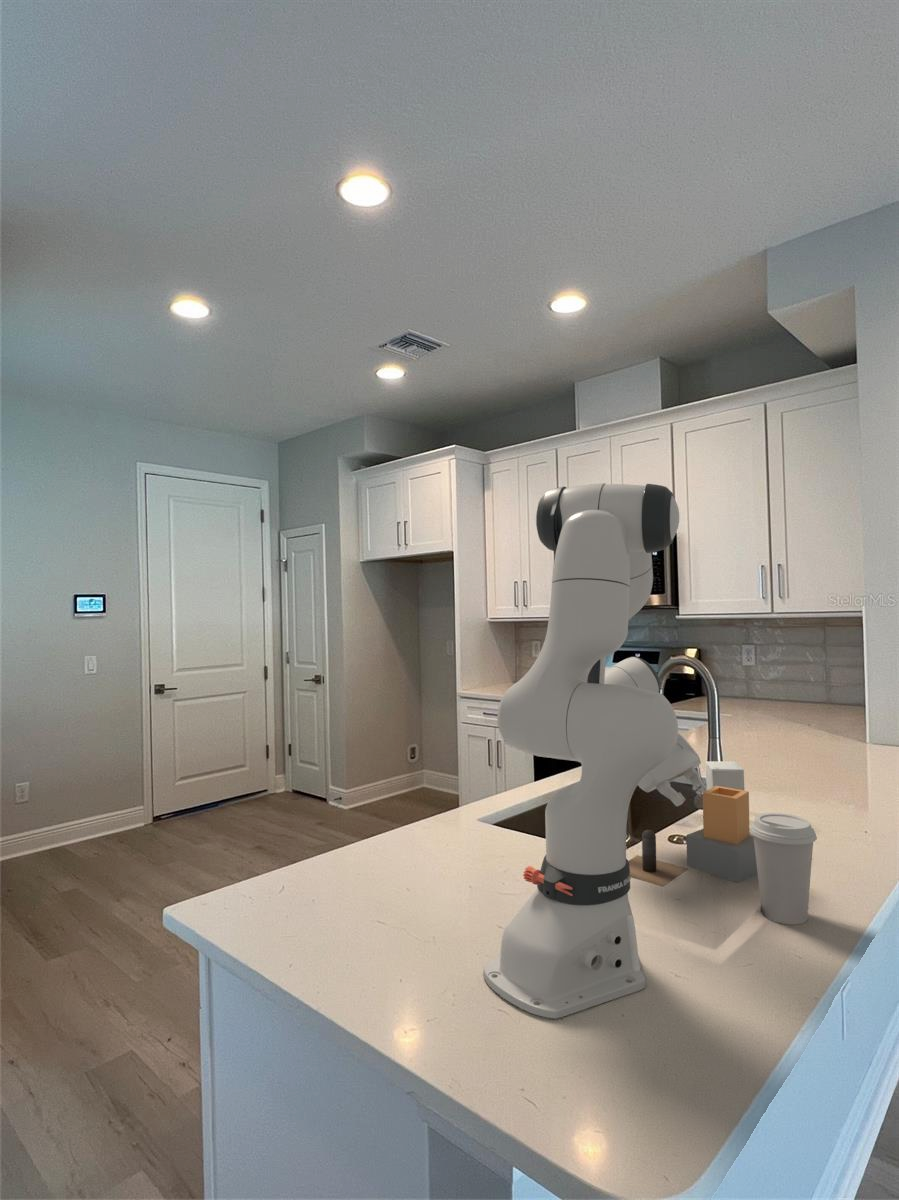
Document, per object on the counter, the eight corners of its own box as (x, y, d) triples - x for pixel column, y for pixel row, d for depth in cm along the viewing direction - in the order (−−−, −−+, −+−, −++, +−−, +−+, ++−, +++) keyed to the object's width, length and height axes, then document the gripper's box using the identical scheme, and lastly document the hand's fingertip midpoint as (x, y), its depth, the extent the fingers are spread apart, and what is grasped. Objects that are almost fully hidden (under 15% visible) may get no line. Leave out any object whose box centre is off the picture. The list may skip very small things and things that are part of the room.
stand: (663, 894, 118) (662, 843, 118) (610, 879, 125) (609, 831, 125) (688, 876, 126) (687, 828, 126) (637, 863, 132) (636, 817, 132)
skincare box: (747, 848, 139) (745, 770, 139) (712, 846, 140) (711, 769, 140) (738, 833, 147) (737, 760, 147) (705, 832, 149) (704, 759, 149)
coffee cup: (737, 908, 113) (736, 815, 113) (783, 898, 116) (781, 808, 116) (785, 934, 104) (783, 834, 104) (832, 922, 107) (831, 825, 107)
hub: (738, 890, 119) (736, 814, 119) (687, 873, 127) (685, 801, 127) (768, 875, 125) (767, 802, 125) (718, 859, 133) (716, 790, 133)
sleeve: (737, 844, 122) (736, 798, 122) (703, 836, 126) (702, 792, 126) (749, 835, 126) (748, 791, 126) (716, 828, 130) (716, 785, 130)
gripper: (627, 738, 128) (679, 800, 121) (676, 721, 143) (725, 776, 136) (606, 758, 131) (656, 821, 124) (656, 740, 146) (703, 795, 139)
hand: (692, 797), depth 131 cm, fingers open, 8 cm apart
